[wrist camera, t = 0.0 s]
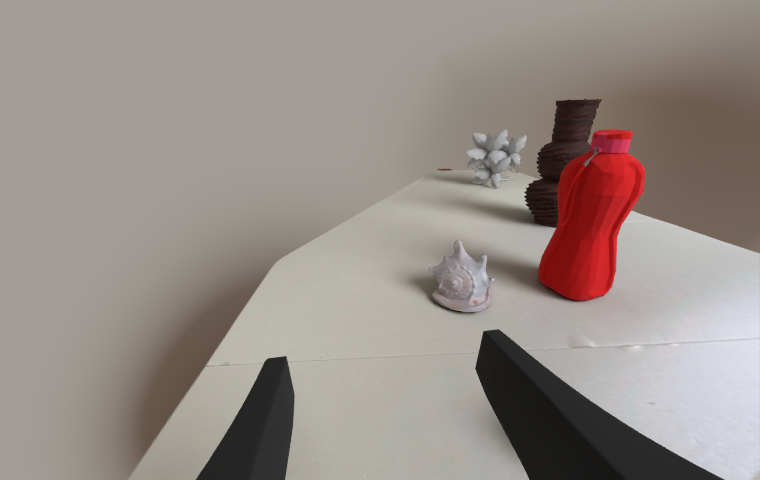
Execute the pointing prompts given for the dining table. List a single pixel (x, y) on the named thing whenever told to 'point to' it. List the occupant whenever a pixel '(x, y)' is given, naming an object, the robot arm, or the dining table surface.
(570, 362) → the dining table surface
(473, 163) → the flower bouquet
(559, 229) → the water bottle
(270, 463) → the robot arm
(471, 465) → the dining table surface
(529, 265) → the dining table surface
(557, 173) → the vase
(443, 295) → the seashell
